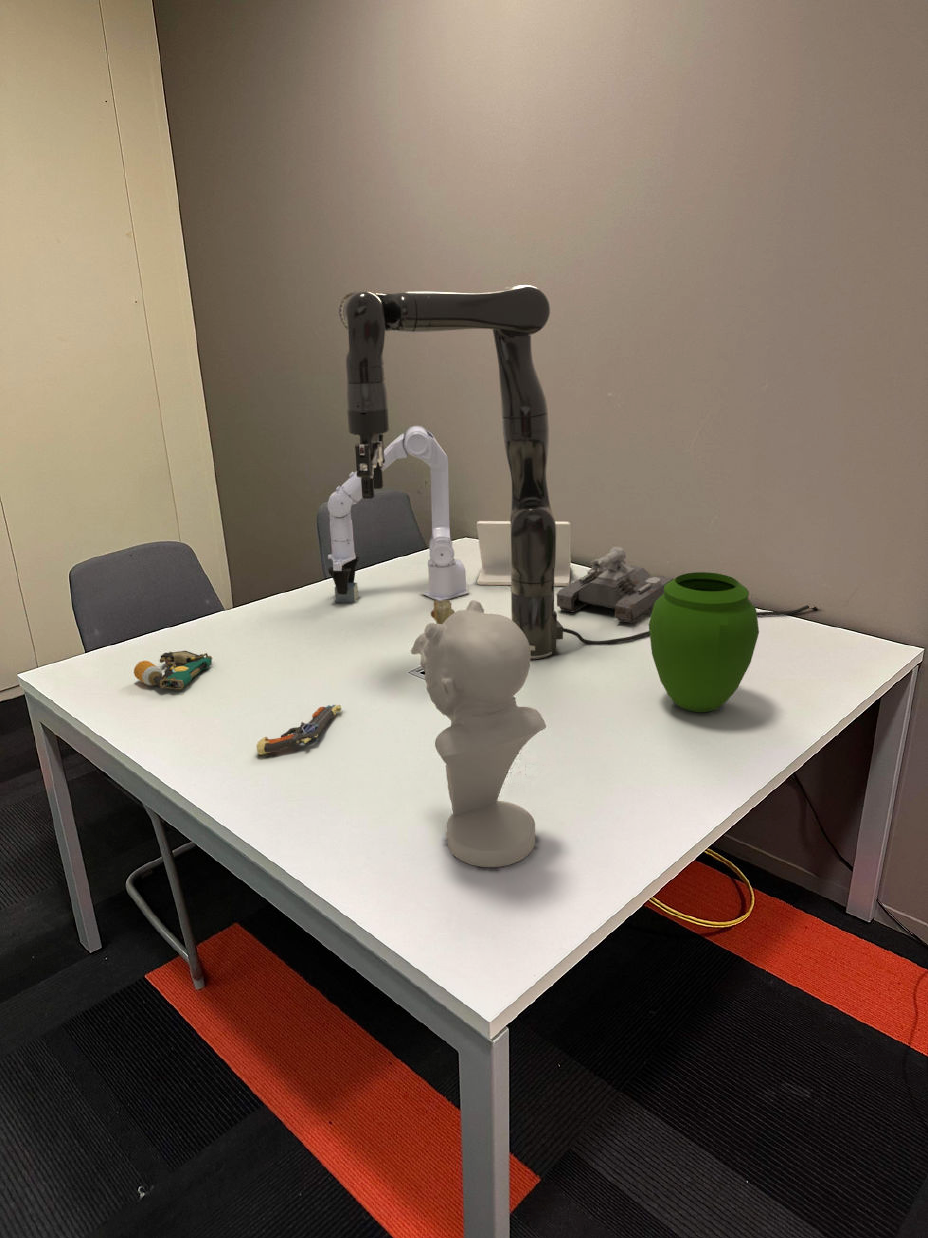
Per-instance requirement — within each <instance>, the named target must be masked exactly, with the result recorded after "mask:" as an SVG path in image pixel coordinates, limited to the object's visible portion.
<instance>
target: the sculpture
mask: <svg viewBox="0 0 928 1238" xmlns="http://www.w3.org/2000/svg"><path fill="white" fill-rule="evenodd" d="M455 612H456V611H455V609H453V608H452V602H451V601H450V599H447V600H444V601H437V600H433V610H431V612H430V617H431V618H432V619H433V620H434V621H435V622H436V623H435V624H443V623H444V622H445V620H446V619H447V618H448V617H450V616H451V615H452V614H453V613H455Z"/></svg>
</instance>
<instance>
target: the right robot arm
mask: <svg viewBox="0 0 928 1238" xmlns="http://www.w3.org/2000/svg"><path fill="white" fill-rule="evenodd" d="M336 312H337V313H336V314H337V318H338V320H339V323H340V324H341V326H342V327H343V328H344V329H346V330H347V331H348V332H347V334H348V336H347V337H348V339H347V340H348V349H347V351H346V352H345V355H344V369H345V381H346V383H345V384H346V387H345V388H346V389H345V400H346V414H347V415H346V416H347V427H348V433H349V434H351V435H353V436H357V435H358V436H359V443H355V445H354V449H355V467H356V471H357V473H356V474H357V477H359V478H360V479H361V487H362V497H363V498H362V499H365V500H371V499H373V498H374V497H375V490H380V489H383V487H384V478H383V476H384V475H383V472H382V469H383V467H384V465H383V464H384V463H385V458H384V450H385V445H384V434H386V433H388V432H389V431H390V423H389V407H388V405H389V404H388V392H387V387H386V381H385V378H386V377H385V363H384V348H385V340H386V339H385V338H386V332H394V331H395V332H399V333H439V332H450V331H451V332H452V331H462V330H492V335H493V339H494V344H495V349H496V356H497V363H498V377H499V389H500V391H499V393H500V403H501V405H500V406H501V422H502V435H503V443H504V449H505V454H506V458H507V459H506V460H507V464H508V467H509V471H510V478H511V509H510V520H509V521H510V525H511V585H510V588H511V589H510V597H511V599H510V603H511V604H510V606H511V607H510V609H511V610H510V615H511V617H510V619H511V620H512V621H513V622H514V623H515V624H516V625H517V626H518V627H519V628H520V629H521V630H522V632H523V633H524V634H525V636H526V638H527V640H528V643H529V646H530V652H531V653H530V655H531V656H530V660H540V659H545V658H548V657H550V656H552V655H557V654H558V653H557V650H558V649H557V648H558V647H557V645H558V644H557V643H558V641H560V640H564V633H566V634H570V635H573V636H575V637H576V638H577V639H578V640H579V641H580V642H582V643H584V644H587V645H610V644H616V643H617V644H618V643H622V642H623V643H624V642H628V641H632V640H637V639H639V638H642V637H647V636H650V632H649V630H647V631H643V632H641V633H637V634H634V635H630V636H626V637H625V636H624V637H619V638H612V639H606V640H590V639H585V638H583V636H582V635H581V634H580V633H579V632H577V631H575V630H573V629H569V628H566V627H564V626H563V625H562V624H561V623H560V622H559V620H558V613H557V612H556V611H555V586H554V571H555V558H556V524H555V522H556V521H555V518H554V514H553V511H552V507H551V502H550V495H549V490H548V481H547V466H548V458H549V457H548V455H549V443H550V431H549V430H550V427H549V426H550V425H549V412H548V410H549V409H548V403H547V399H546V394H545V392H544V390H543V386H542V384H541V381H540V379H539V376H538V373H537V371H536V367H535V363H534V360H533V352H532V335H535V334H538V333H539V332H541V331H542V329H544V327H545V326H546V325H547V323H548V321H549V319H550V314H551V306H550V302H549V299H548V297H547V295H546V294H545V293H544V292H543V291H542V290H541V289H539V288H537V287H536V286H533V285H529V284H522V285H521V284H519V285H511V286H506V287H504V288H502V289H500V290H498V291H493V292H482V293H481V292H479V293H477V292H476V293H469V292H468V293H467V292H466V293H465V292H463V293H462V292H448V291H447V292H445V291H401V292H393V293H392V292H391V293H386V292H371V291H365V290H364V291H352V292H349V293H347V294H345V295H344V296H343V297H342V298H341V299H340V300H339V303H338V305H337V311H336ZM366 469H367V470H366ZM808 605H809V604H807V605H804V606H802V607H800V608H797V609H792V610H779V611H756V612H757V617H758V616H760V617H761V616H784V615H785V616H786V615H787V616H788V615H795V614H798V613H801V612H804V611H806V610H809V609H810V608H809V606H808ZM811 610H813V611H816V612H817V611H818V612H819V608H818V607H817V606H815V607H814V608H811Z"/></svg>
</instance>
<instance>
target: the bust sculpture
mask: <svg viewBox="0 0 928 1238" xmlns="http://www.w3.org/2000/svg"><path fill="white" fill-rule="evenodd" d="M454 612H455V613H453V614H452V615H451V616H450V617H448V618H447V619H446V620H445V622H444V623H443V624H436V623H435V622H430V623H428V624H427V625H426V626H425V628H424V632H423V633H421V634H419V635H418V636H417V637H416V638H415V640H414V642H413V645H412V647H411V649H410V654H412V655H420V667H421V669H422V670H423V672H424V681H425V682H426V690H427V693H428V696H429V698H430V701H431V702H432V704H434V706H435V708H436V710H438V711H439V712H440V713H441V714H442V716H446V717H447V718H448V719H449V720H450V726H448V727H446V728H445V729H443V730H442V731H441V732H440V733H439V734H438V735H436V738H435V741H434V748H435V749H436V752H437V753H438V755H439V757H440V758H441V760H442V761H443V762H444V763H445V771H446V781H447V790H448V796H449V800H450V803H451V810H452V813H451V814H450V815H449V817H448V819H447V822H446V844H447V847H448V849H449V851H450V852H451V854H452V855H453V856H454V857H456V858H457V859H459V860H460V861H462V862H463V863H466V864H469V865H471V866H476V867H483V868H498V867H505V866H509V865H512V864H517V862H520V861H521V860H523V859H525V858H527V856H528V855H530V854H531V852H532V851H533V849H535V848H534V847H535V845H536V822H535V821H536V820H535V819H534V817H533V816H532V814H531V813H530V812H529V811H528V810H526V809H525V808H524V807H522V806H520V805H517V804H515V803H513V802H509V801H504V800H499V796H500V793H501V790H502V788H503V785H504V783H505V780H506V778H507V776H508V773H509V771H510V769H511V768H512V765H513V763H514V761H515V760H516V759H517V756H518V755H519V753H520V752H521V750H522V749H523V748H524V747H525V745H526V744H527V743H528V742H529V741H530V740H531V739H532V738H533V737H535V735H537V734H538V733H539V732H541V731H544V730H545V729H546V728H547V725H546V723H545V720H544V718H543V717H542V714H541V713H540V712H539V711H538V710H537V709H535V708H533V707H530V706H518V705H517V701H516V699H517V698H516V696H515V695H516V694H517V693H519V691H521V689H522V688H523V686H524V684H525V683H526V680H527V678H528V675H529V669H530V666H531V659H530V656H531V655H530V653H531V652H530V646H529V643H528V640H527V638H526V636H525V634H524V633H523V632H522V630H521V629H520V628H519V627H518V626H517V625H516V624H515V623H514V622H513V621H512V620H511V618H508V617H507V616H504V615H503V614H502V615H501V614H496V613H485V609H484V607H483V605H482V603H481V602H480V601H478V600H473V599H472V600H470V601H469V603H468V605H467V607H466V609H460V610H457V611H454Z"/></svg>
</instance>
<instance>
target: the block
mask: <svg viewBox="0 0 928 1238" xmlns="http://www.w3.org/2000/svg"><path fill="white" fill-rule="evenodd" d="M334 597H335V598H334V599H335V603H348V604H349V603H356V601H357V600H358V599H359V586H358V582H354V583H348V590H347V594H338V592H337V589H336V585H335V586H334Z"/></svg>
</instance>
